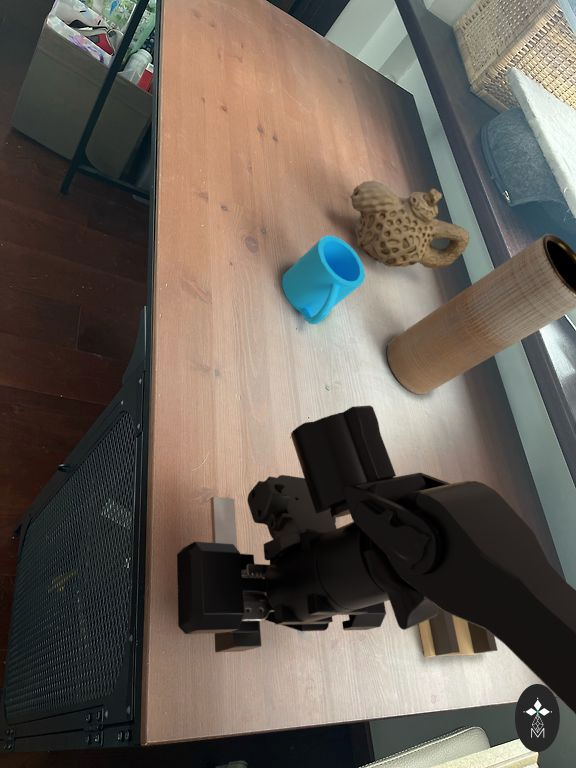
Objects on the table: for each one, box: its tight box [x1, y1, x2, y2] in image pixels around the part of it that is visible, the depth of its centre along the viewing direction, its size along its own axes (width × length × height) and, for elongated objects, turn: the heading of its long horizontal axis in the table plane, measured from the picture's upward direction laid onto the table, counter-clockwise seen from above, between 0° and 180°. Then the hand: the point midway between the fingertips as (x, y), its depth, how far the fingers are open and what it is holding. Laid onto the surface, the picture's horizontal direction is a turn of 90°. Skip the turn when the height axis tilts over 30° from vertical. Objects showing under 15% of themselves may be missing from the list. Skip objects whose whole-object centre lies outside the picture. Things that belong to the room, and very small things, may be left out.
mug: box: [281, 235, 366, 325], centre depth 85 cm, size 12×8×8 cm
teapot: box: [349, 180, 470, 269], centre depth 100 cm, size 21×12×15 cm, turn 81°
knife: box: [210, 496, 262, 654], centre depth 57 cm, size 14×3×3 cm, turn 7°
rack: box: [418, 608, 498, 658], centre depth 75 cm, size 10×8×4 cm
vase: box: [386, 233, 576, 396], centre depth 86 cm, size 10×10×28 cm
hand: (233, 608), depth 55 cm, fingers closed on knife, 3 cm apart
